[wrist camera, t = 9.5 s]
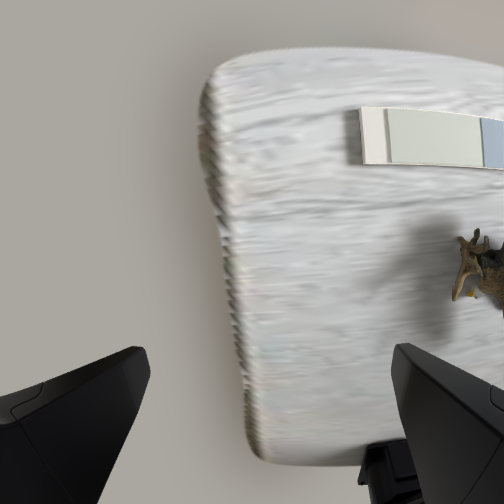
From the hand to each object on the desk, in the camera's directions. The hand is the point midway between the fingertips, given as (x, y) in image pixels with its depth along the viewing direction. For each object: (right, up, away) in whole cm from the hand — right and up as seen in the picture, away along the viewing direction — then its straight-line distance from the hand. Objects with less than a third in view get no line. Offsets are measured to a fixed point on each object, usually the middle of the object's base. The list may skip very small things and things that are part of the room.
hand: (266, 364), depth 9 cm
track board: (+18, +11, +8) cm, 22 cm away
